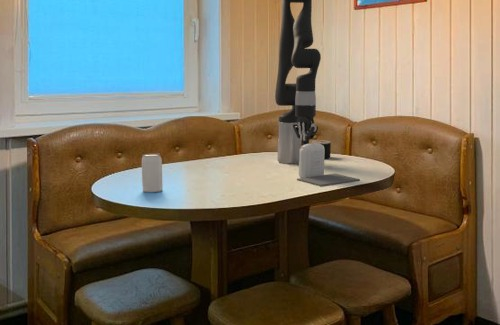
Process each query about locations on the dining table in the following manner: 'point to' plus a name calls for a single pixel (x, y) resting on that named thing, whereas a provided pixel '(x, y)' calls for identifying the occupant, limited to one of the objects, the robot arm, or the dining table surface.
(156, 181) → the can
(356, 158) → the dining table surface
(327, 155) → the sushi
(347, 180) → the mat
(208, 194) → the dining table surface
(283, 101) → the robot arm
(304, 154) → the photo printer
